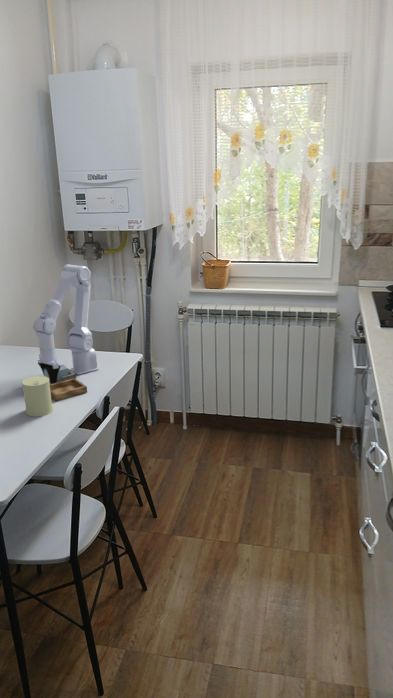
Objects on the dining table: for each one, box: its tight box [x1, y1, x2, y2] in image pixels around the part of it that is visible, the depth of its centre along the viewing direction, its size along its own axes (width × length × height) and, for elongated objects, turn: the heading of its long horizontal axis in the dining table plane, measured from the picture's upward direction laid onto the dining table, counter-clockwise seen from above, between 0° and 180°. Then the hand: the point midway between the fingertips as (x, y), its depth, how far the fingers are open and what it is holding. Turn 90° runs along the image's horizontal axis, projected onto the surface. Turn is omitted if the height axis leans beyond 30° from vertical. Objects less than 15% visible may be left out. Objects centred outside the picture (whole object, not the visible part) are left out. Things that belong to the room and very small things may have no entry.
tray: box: [50, 378, 88, 402], centre depth 207 cm, size 13×11×2 cm
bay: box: [62, 368, 77, 381], centre depth 218 cm, size 6×9×4 cm, turn 37°
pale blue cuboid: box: [43, 364, 69, 385], centre depth 215 cm, size 8×5×6 cm, turn 127°
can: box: [21, 375, 54, 417], centre depth 191 cm, size 9×9×12 cm
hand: (50, 380), depth 214 cm, fingers closed on pale blue cuboid, 5 cm apart
